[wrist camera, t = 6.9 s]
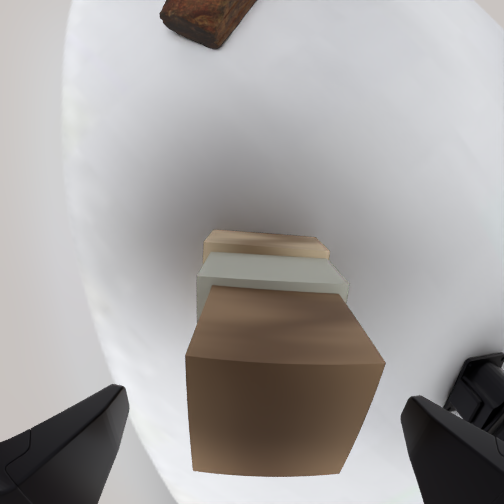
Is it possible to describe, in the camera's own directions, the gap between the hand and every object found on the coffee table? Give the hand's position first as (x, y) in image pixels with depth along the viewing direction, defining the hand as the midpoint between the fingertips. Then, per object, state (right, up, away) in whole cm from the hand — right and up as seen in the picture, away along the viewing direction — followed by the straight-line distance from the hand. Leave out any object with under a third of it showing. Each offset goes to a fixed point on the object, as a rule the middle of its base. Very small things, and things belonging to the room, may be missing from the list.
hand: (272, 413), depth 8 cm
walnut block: (0, +1, +4) cm, 4 cm away
